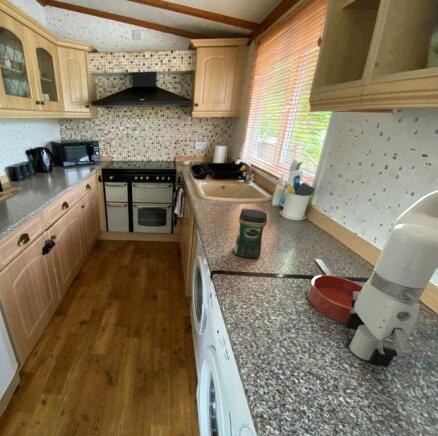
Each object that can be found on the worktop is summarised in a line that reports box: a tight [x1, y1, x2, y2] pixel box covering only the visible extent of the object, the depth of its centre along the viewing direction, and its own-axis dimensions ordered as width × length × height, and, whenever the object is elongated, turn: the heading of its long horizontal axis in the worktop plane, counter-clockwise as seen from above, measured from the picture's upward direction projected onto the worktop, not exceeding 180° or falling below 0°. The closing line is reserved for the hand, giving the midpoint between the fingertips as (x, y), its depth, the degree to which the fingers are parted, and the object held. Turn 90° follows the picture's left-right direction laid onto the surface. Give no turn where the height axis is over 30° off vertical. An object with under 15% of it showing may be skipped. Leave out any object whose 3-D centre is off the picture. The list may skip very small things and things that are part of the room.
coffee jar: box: [233, 207, 268, 259], centre depth 93 cm, size 10×8×19 cm
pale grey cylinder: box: [349, 325, 378, 361], centre depth 55 cm, size 4×4×6 cm
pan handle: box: [313, 258, 334, 276], centre depth 80 cm, size 2×10×1 cm, turn 167°
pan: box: [307, 274, 365, 325], centre depth 69 cm, size 15×15×5 cm
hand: (364, 345), depth 55 cm, fingers open, 9 cm apart
